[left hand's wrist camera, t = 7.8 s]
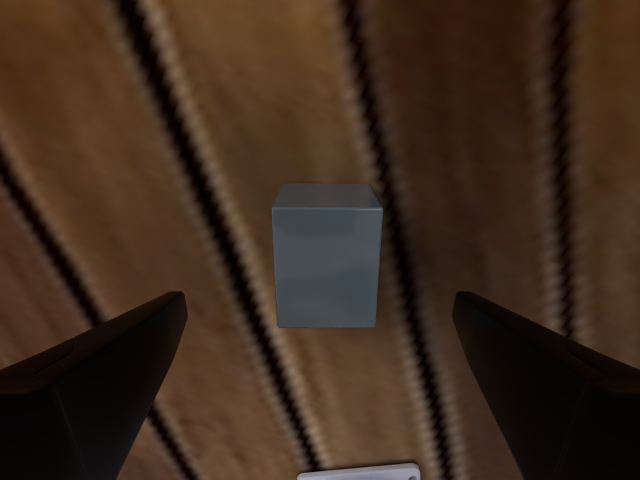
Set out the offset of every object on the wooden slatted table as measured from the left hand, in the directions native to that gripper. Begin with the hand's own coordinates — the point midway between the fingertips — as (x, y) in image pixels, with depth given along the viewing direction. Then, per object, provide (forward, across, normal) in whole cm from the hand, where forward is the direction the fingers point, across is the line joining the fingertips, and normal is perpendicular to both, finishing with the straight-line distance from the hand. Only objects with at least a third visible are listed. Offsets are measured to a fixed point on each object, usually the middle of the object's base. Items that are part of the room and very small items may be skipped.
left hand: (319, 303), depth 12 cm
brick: (+6, 0, 0) cm, 6 cm away
